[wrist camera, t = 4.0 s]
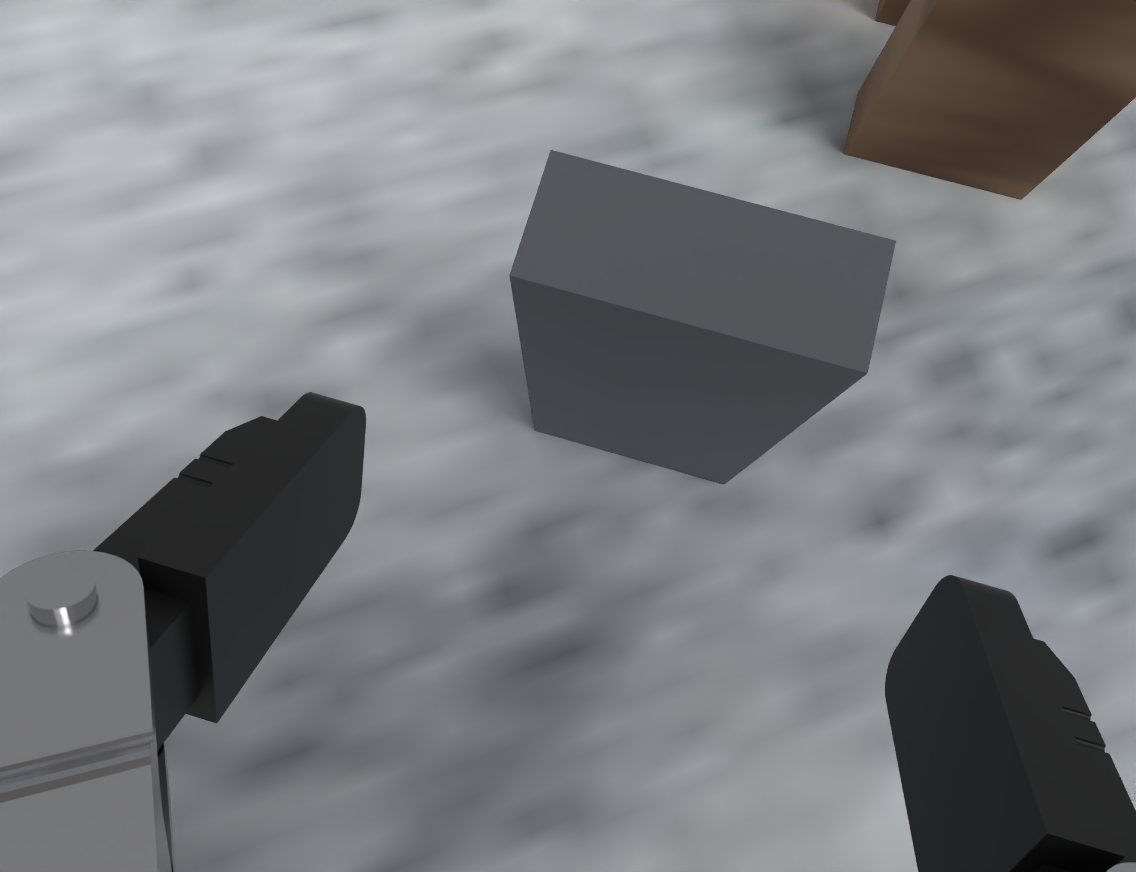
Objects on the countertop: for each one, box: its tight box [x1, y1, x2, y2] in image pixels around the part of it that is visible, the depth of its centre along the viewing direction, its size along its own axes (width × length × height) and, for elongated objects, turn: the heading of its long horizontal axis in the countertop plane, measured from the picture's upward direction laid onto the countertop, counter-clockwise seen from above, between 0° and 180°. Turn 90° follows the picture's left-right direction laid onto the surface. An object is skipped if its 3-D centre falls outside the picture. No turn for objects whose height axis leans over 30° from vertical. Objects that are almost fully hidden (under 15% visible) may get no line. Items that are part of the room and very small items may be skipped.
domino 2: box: [844, 0, 1136, 200], centre depth 17 cm, size 5×2×10 cm, turn 74°
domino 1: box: [510, 150, 896, 484], centre depth 15 cm, size 5×2×10 cm, turn 74°
